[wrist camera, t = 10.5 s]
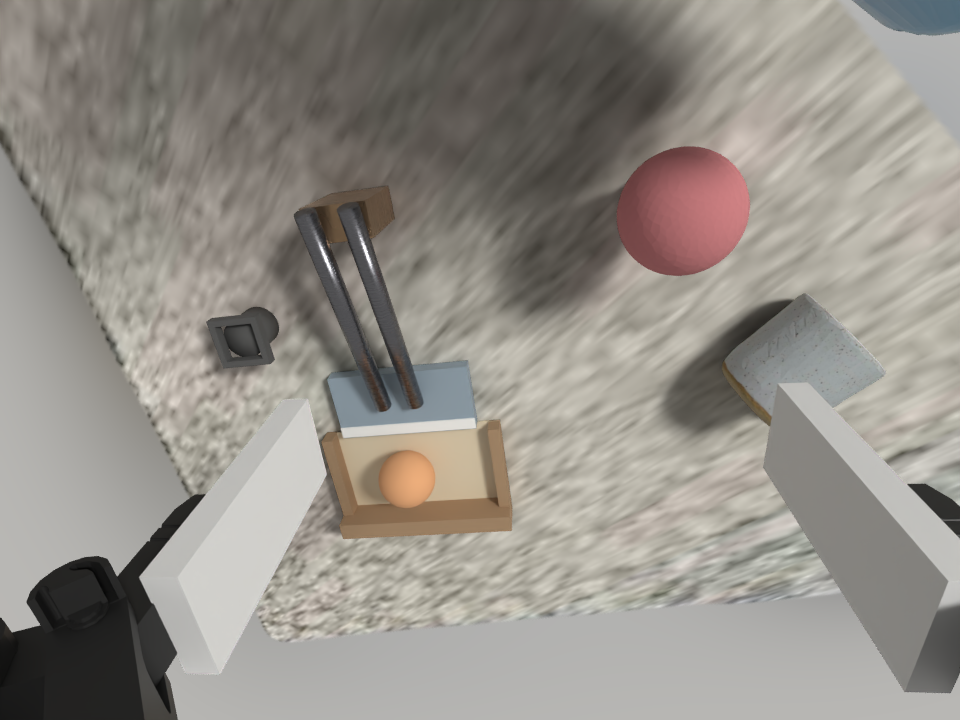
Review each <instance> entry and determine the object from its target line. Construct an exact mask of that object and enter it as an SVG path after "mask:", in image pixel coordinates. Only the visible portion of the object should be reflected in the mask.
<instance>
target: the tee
mask: <svg viewBox="0 0 960 720" xmlns="http://www.w3.org/2000/svg"><path fill="white" fill-rule="evenodd" d="M206 323H207V325H208V328H209V331H210V333H211V336H212V339H213V341H214V344H215V347H216V349H217V352H218V355H219V358H220V360H221V363H222V366H223V368H233V367H243V366H254V365H265V364H271V363H272V362H273V361H274V360H275V359H274V356H273V353H272V350H271V347H270V344H269V343H271V342H272V341H273V340H274V339H275V338H276V336H277V335H278V332H279V325H278V321H277V319H276V318H275V316H274V315H273V314H272V313H271V312H269V311H268V310H266V309H264V308H260V307H253V308H250V309H248V310H246V311H245V312H244V313H242V314H241V315H237V316H227V317H218V318H211V319H210V320H208V321H207V322H206ZM222 326H226V328H225V330H224V334H223V331H222V328H221V327H222ZM228 347H229V348H228ZM229 349H230V350H231V351H232V352H234V353H235V354H237V355H239V356H242V357H236V358H232V356H231V353H230V351H229ZM260 352H261V355H258V354H259V353H260ZM256 355H257V356H256Z"/></svg>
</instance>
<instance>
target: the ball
mask: <svg viewBox="0 0 960 720" xmlns="http://www.w3.org/2000/svg"><path fill="white" fill-rule="evenodd" d="M378 482H379V488H380V491H381V493H382V495H383V496H384V498H385V499H386V500H387V501H388V502H390V503H391V504H393V505H394V506H397V507H400V508H412V507H416V506H418V505H420V504H422V503H423V502H424V501H426V500H427V499H428V497H429V496H430V495H431V493H432V491H433V489H434V486H435V472H434V468H433V466H432V464H431V462H430V461H429V460H428V459H427V458H426V457H425V456H424V455H422V454H421V453H418V452H415V451H411V450H405V451H400V452H397V453H395V454H393V455H391V456H390V457H389V458H388V459H387V460H386V461H385V462H384V463H383V465H382V467H381V469H380V472H379V480H378Z"/></svg>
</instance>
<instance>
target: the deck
mask: <svg viewBox="0 0 960 720" xmlns="http://www.w3.org/2000/svg"><path fill="white" fill-rule="evenodd" d="M412 367H413V370H414V373H415V376H416V379H417V382H418V385H419V388H420V391H421V394H422V397H423V400H424V404H423V405H422V407H420V408H418V409H410V408H409V407H408V405H407V403H406V400H405V397H404V394H403V392H402V389H401V386H400V383H399V381H398V378H397V375H396V372H395V370H394V367H390V368H378V370H379V373H380V375H381V378H382V380H383V383H384V385H385V388H386V390H387V393H388V396H389V398H390V401H391V403H392V405H391V407H390V409H389V410H387V411H385V412H378V411H377V410H376V409H375V406H374V404H373V402H372V399H371V397H370V395H369V392H368V390H367V388H366V385H365V383H364V381H363V378H362V376H361V373H360V371H359V370H356V371H345V372H334V373H331V374H330V376H329V377H328V379H327V380H328V384H329V387H330V391H331V394H332V398H333V402H334V405H335V409H336V412H337V416H338V419H339V423H340V426H341V431H342V435H343V438H355V437H369V436H382V435H396V434H410V433H423V432H437V431H450V430H464V429H476V428H477V415H476V409H475V402H474V396H473V390H472V384H471V377H470V371H469V365H468V360H467V361H456V362H445V363H434V364H423V365H412Z"/></svg>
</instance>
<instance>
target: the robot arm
mask: <svg viewBox="0 0 960 720" xmlns="http://www.w3.org/2000/svg"><path fill="white" fill-rule="evenodd" d="M852 1H854V2H855V3H856V4H857V5H859V6H860V7H861V8H862V9H864V10H865V11H866V12H868V14H870V15H871V16H872V17H874V18H875V19H876V20H878V21H879V22H880V23H881V24H883V25H884V26H886V27H888V28H891V29H893V30H896V31H905V32H909V33H913V34H916V35H922V34H923V35H943V34H951V33H958V32H960V0H852ZM763 468H764V469H765V471H766V473H767V474H768V476H769V477H770V479H771V481H772V482H773V484H774V485H775V487H776V489H777V490H778V492H779V493H780V495H781V496H782V498H783V500H784V501H785V503H786V504H787V506H788V508H789V509H790V511H791V512H792V514H793V515H794V517H795V519H796V520H797V522H798V523H799V525H800V527H801V528H802V530H803V531H804V533H805V535H806V536H807V538H808V539H809V541H810V542H811V544H812V546H813V547H814V549H815V550H816V552H817V554H818V555H819V557H820V558H821V560H822V562H823V563H824V565H825V566H826V568H827V569H828V571H829V573H830V574H831V576H832V577H833V579H834V581H835V582H836V584H837V585H838V587H839V588H840V590H841V592H842V593H843V595H844V596H845V598H846V600H847V601H848V603H849V604H850V606H851V607H852V609H853V611H854V612H855V614H856V615H857V617H858V618H859V620H860V622H861V623H862V625H863V627H864V628H865V630H866V631H867V633H868V634H869V636H870V638H871V639H872V641H873V642H874V644H875V645H876V647H877V649H878V650H879V652H880V654H881V655H882V657H883V658H884V660H885V661H886V663H887V665H888V666H889V668H890V669H891V671H892V673H893V674H894V676H895V677H896V679H897V680H898V682H899V684H900V685H901V687H902V688H903V690H904V692H927V693H951V691H952V689H953V687H954V685H955V683H956V680H957V678H958V676H959V673H960V506H959V505H957V504H956V503H955V502H954V501H953V500H952V499H950V498H949V497H947V496H945V495H944V494H942V493H940V492H938V491H937V490H935V489H933V488H932V487H930V486H928V485H926V484H906V483H905V482H904V481H903V480H902V479H901V478H900V477H899V476H898V475H897V474H896V473H895V472H894V470H893V469H892V468H891V467H890V466H889V465H888V464H887V463H886V462H885V461H884V460H883V459H882V458H881V457H880V456H879V455H878V454H877V453H876V452H875V451H874V450H873V449H872V448H871V447H870V446H869V445H868V444H867V443H866V442H865V441H864V440H863V439H862V438H861V437H860V436H859V434H858V433H857V432H856V431H855V430H854V429H853V428H852V427H851V426H850V425H849V424H848V423H847V422H846V421H845V420H844V419H843V418H842V417H841V416H840V415H839V414H838V413H837V412H836V411H835V410H834V409H833V408H832V407H831V406H830V405H829V404H828V403H827V402H826V401H825V400H824V398H823V397H822V396H821V395H820V394H819V393H818V392H817V391H816V390H815V389H814V388H813V387H812V386H811V385H810V384H809V383H808V382H805V383H778V384H777V390H776V396H775V401H774V407H773V413H772V419H771V425H770V430H769V436H768V442H767V448H766V453H765V459H764V465H763ZM326 475H327V473H326V469H325V465H324V461H323V457H322V453H321V449H320V445H319V441H318V437H317V433H316V429H315V425H314V421H313V417H312V413H311V409H310V405H309V401H308V399H283V400H282V401H281V402H280V404H279V405H278V406H277V407H276V409H275V410H274V411H273V412H272V414H271V415H270V416H269V417H268V419H267V420H266V421H265V422H264V423H263V425H262V426H261V427H260V428H259V430H258V431H257V432H256V433H255V435H254V436H253V437H252V438H251V440H250V441H249V442H248V443H247V444H246V446H245V447H244V448H243V449H242V451H241V452H240V453H239V454H238V456H237V457H236V458H235V459H234V461H233V462H232V463H231V464H230V465H229V467H228V468H227V469H226V470H225V472H224V473H223V474H222V475H221V477H220V478H219V479H218V480H217V482H216V483H215V484H214V485H213V486H212V488H211V489H210V490H209V491H208V493H207V494H203V495H194V496H192V497H191V498H190V499H188V500H187V501H186V502H184V503H183V504H181V505H180V506H179V507H177V508H176V509H175V510H174V511H173V512H172V513H171V515H170V516H169V517H168V518H167V519H166V520H165V521H164V523H163V524H162V527H161V528H159V529H158V530H157V531H156V532H155V533H154V534H153V535H152V537H151V538H150V541H148V542H146V544H145V545H144V546H143V547H142V548H141V550H140V551H139V552H138V553H137V554H136V555H135V557H134V558H133V559H132V560H131V561H130V562H129V564H128V565H127V566H126V567H125V568H124V570H123V571H122V572H121V573H120V574H119V576H116V574H115V572H114V570H113V568H112V566H111V564H110V563H109V561H108V559H106V558H103V557H99V556H94V557H84V558H81V559H78V560H75V561H72V562H69V563H67V564H65V565H63V566H61V567H59V568H57V569H55V570H54V571H52V572H51V573H50V574H48V575H47V576H46V577H44V578H43V579H42V580H40V581H39V583H38V584H37V585H36V586H35V587H34V588H33V589H32V591H31V592H30V594H29V597H28V599H27V604H28V606H29V607H30V609H31V610H32V612H33V613H34V615H35V617H36V618H37V620H38V622H39V623H40V626H36V627H32V628H28V629H25V630H21V631H16V632H13V633H12V632H11V631H10V630H9V628H8V626H7V625H6V624H5V622H4V621H3V620H2V618H0V720H178V719H177V714H176V709H175V704H174V699H173V694H172V689H171V684H170V681H169V679H168V677H167V675H166V673H165V672H166V671H167V669H168V667H169V665H170V664H171V663H172V661H173V659H174V658H175V656H176V655H177V657H178V659H179V662H180V663H181V666H182V668H183V670H184V672H185V674H213V675H220V674H221V672H222V670H223V668H224V666H225V664H226V663H227V661H228V659H229V657H230V655H231V653H232V651H233V649H234V648H235V646H236V644H237V642H238V640H239V638H240V636H241V634H242V633H243V631H244V629H245V627H246V625H247V623H248V621H249V619H250V618H251V616H252V614H253V612H254V610H255V608H256V606H257V604H258V603H259V601H260V599H261V597H262V595H263V593H264V591H265V589H266V588H267V586H268V584H269V582H270V580H271V578H272V576H273V574H274V573H275V571H276V569H277V567H278V565H279V563H280V561H281V559H282V558H283V556H284V554H285V552H286V550H287V548H288V546H289V544H290V543H291V541H292V539H293V537H294V535H295V533H296V531H297V529H298V528H299V526H300V524H301V522H302V520H303V518H304V516H305V514H306V513H307V511H308V509H309V507H310V505H311V503H312V501H313V499H314V498H315V496H316V494H317V492H318V490H319V488H320V486H321V484H322V483H323V481H324V479H325V477H326Z"/></svg>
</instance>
